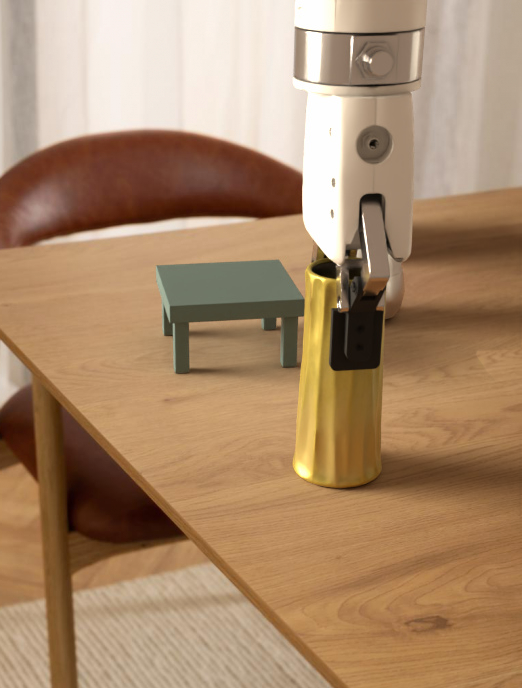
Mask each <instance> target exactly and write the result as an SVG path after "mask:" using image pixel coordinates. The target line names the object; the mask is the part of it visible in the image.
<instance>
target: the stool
mask: <svg viewBox="0 0 522 688" xmlns="http://www.w3.org/2000/svg"><path fill="white" fill-rule="evenodd" d="M155 282H156V285H157V289H158V291H159V295H160V297H161V331H162V334H163V336H172V355H173V359H172V360H173V371H174V373H175V374H187V373H190V323H205V322H206V323H208V322H226V321H227V322H228V321H243V320H244V321H245V320H260V325H261V328H262V330H263V331H271V330H277V321H278V320H277V319H280V348H279V351H280V352H279V363H280V365H281V367H282V368H297V366H298V340H299V339H298V335H299V318H300V317H302V318H304V308H305V296H303V294H302V293H301V291H300V289H299V288H298V287H297V285H296V283H295V282H294V280H293V279H292V277H291V276H290V274H289V272H288V271H287V269H286V268H285V267H284V265H283V264H282V262H281V261H280V259H263V260H259V259H258V260H242V261H241V260H239V261H237V260H236V261H220V262H219V261H217V262H216V261H215V262H198V263H178V264H176V263H175V264H157V265H155Z"/></svg>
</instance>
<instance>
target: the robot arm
mask: <svg viewBox="0 0 522 688" xmlns="http://www.w3.org/2000/svg"><path fill="white" fill-rule="evenodd" d="M294 1H295V2H294V32H293V33H294V37H293V38H294V40H293V68H292V69H293V70H292V71H293V72H292V73H293V74H292V86H293V87H294V89H297V90H299V91H304V92H306V93H307V101H306V102H307V103H306V108H305V125H304V127H305V128H304V141H303V142H304V143H303V163H302V187H301V188H302V189H301V191H302V194H301V196H302V197H301V200H302V201H301V202H302V220H303V224H304V228H305V230H306V231H307V233H308V234H309V236H310V237H311V238H312V242H313V243H312V244H313V245H312V252H311V260H310V264H311V263H312V262H314V261H317V260H320V259H324V258H329V259H331V260H332V261H333V262H334V263H336V291H337V308H331V327H330V349H329V365H330V367H331V369H332V370H334V371H347V370H364V369H376V368H377V367H379V365H380V359H381V344H382V329H383V314H384V307H385V290H386V284H387V282H388V281H389V278H390V267H389V259H388V254H389V255H390V256H391V257H392V258H393V259H394V260H395V261H396V262H402V263H404V262H406V261H407V260H408V259H409V257H411V254H412V247H413V246H412V244H413V222H414V219H413V218H414V191H415V118H414V105H413V103H414V101H413V94H412V92H415V91H418V90H420V89H421V87H422V73H423V72H422V71H423V61H424V60H423V59H424V48H425V47H424V46H425V37H426V36H425V35H426V23H427V12H428V11H427V9H428V0H294ZM358 249H361V253H362V259H348V257H357V251H358ZM351 269H362V270H361V272H360V273H361V276H360V277H354V279H353V281H352V282H351V286H350V288H349V270H351Z"/></svg>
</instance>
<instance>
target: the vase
mask: <svg viewBox="0 0 522 688" xmlns="http://www.w3.org/2000/svg"><path fill="white" fill-rule="evenodd" d="M348 259H362V258H358V257H348ZM361 270H362V269H351V270H349V288H350V286H351V282H352V281H353V279H354V277H360V276H361V273H360V272H361ZM386 287H387V284H386ZM304 293H305V294H304V299H305V308H304V317H303V337H302V357H301V364H300V372H299V383H298V384H299V385H298V398H297V399H298V400H297V409H296V411H297V412H296V422H295V423H296V425H295V426H296V427H295V448H294V453H293V458H292V462H291V463H292V468H293V469H294V472H295V474H296V475H297V476H298V477H300V478H301V479H302V480H304V481H306V482H307V483H310V484H313V485H316V486H320V487H325V488H332V489H333V488H334V489H347V488H354V487H360V486H364V485H365V484H366V485H367V484H368V483H371V482H373V481H374V480H376V479H377V478H378V477H379V475H380V474H381V472H382V468H383V467H382V466H383V465H382V455H381V454H382V412H383V411H382V409H383V388H384V387H383V385H384V355H385V354H384V353H385V328H386V327H385V325H386V319H385V307H384V314H383V329H382V344H381V359H380V365H379V367H377V368H376V369H364V370H347V371H334V370H332V369H331V367H330V365H329V349H330V327H331V308H337V291H336V263H334V262H333V261H332V260H331V259H329V258H324V259H320V260H317V261H314V262H312V263H311V262H310V263H309V264H308V265H307V266H306V269H305V270H304ZM385 303H386V290H385Z"/></svg>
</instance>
